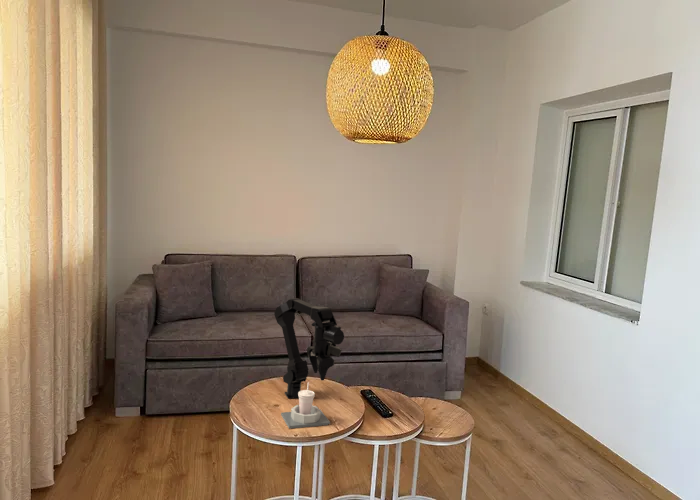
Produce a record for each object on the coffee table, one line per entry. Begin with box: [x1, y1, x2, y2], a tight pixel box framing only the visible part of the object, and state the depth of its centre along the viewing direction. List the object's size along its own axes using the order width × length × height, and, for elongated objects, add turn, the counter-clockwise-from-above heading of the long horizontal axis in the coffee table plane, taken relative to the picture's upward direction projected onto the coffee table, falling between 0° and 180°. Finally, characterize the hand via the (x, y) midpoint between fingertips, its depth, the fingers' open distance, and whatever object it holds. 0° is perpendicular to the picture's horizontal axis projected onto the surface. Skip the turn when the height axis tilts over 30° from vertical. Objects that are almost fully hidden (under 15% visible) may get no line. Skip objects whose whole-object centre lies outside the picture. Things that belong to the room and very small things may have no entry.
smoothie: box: [298, 381, 316, 415], centre depth 197 cm, size 6×6×14 cm
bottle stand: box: [280, 404, 331, 429], centre depth 197 cm, size 12×16×4 cm
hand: (318, 376), depth 208 cm, fingers open, 9 cm apart
